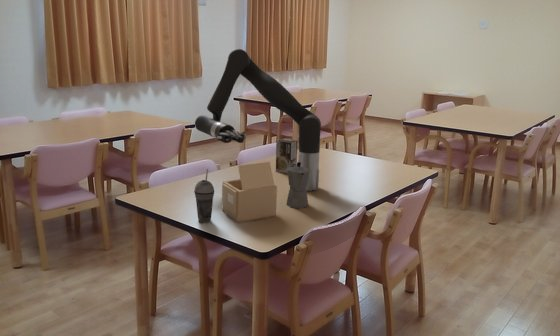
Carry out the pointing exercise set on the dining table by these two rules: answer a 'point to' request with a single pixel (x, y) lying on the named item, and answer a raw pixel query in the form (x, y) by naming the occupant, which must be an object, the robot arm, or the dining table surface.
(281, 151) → the coffee box
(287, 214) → the dining table surface
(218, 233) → the dining table surface
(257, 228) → the dining table surface
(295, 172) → the coffeepot
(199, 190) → the beverage cup
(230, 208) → the carton
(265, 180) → the flap
